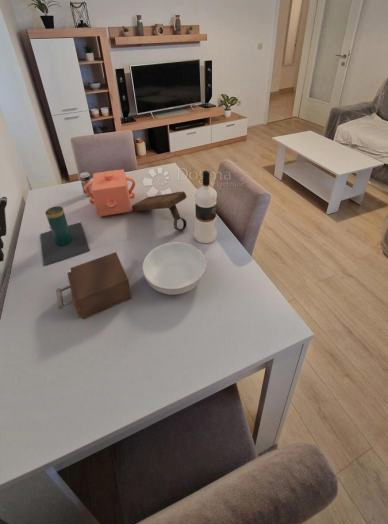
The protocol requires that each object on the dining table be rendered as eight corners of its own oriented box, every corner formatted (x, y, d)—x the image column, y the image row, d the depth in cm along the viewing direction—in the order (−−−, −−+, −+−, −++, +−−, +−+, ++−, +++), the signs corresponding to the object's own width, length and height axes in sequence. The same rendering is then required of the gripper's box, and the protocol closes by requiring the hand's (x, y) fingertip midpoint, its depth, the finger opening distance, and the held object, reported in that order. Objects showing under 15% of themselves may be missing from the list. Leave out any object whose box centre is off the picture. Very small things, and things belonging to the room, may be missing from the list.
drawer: (63, 324, 79) (57, 308, 76) (58, 292, 89) (52, 277, 85) (123, 298, 87) (120, 283, 83) (113, 271, 96) (110, 257, 93)
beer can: (82, 194, 142) (77, 174, 136) (90, 191, 145) (85, 170, 139) (88, 197, 139) (83, 176, 133) (95, 193, 143) (91, 173, 137)
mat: (40, 234, 115) (40, 233, 115) (80, 223, 121) (80, 222, 121) (44, 266, 100) (43, 265, 99) (89, 250, 106) (89, 249, 106)
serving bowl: (165, 248, 107) (164, 235, 103) (215, 267, 98) (215, 253, 95) (131, 288, 91) (129, 273, 88) (187, 314, 82) (186, 299, 79)
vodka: (194, 229, 117) (193, 165, 102) (215, 229, 117) (218, 165, 102) (193, 244, 109) (193, 177, 94) (217, 244, 109) (220, 177, 94)
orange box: (141, 222, 121) (137, 187, 112) (87, 231, 116) (78, 196, 107) (136, 193, 142) (132, 162, 133) (90, 200, 137) (82, 168, 128)
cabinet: (83, 319, 81) (77, 300, 77) (76, 286, 92) (70, 268, 87) (131, 298, 88) (128, 279, 83) (119, 269, 98) (115, 251, 94)
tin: (52, 245, 109) (41, 214, 101) (62, 235, 114) (53, 205, 106) (65, 248, 107) (55, 216, 100) (75, 237, 112) (66, 207, 105)
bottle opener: (143, 235, 131) (181, 236, 108) (130, 205, 129) (166, 200, 106) (159, 224, 138) (198, 224, 115) (147, 196, 135) (185, 190, 112)
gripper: (-82, 195, 55) (-32, 278, 67) (-5, 179, 60) (28, 258, 72) (-72, 179, 61) (-28, 258, 72) (-3, 166, 66) (27, 241, 78)
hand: (0, 258), depth 72 cm, fingers closed
